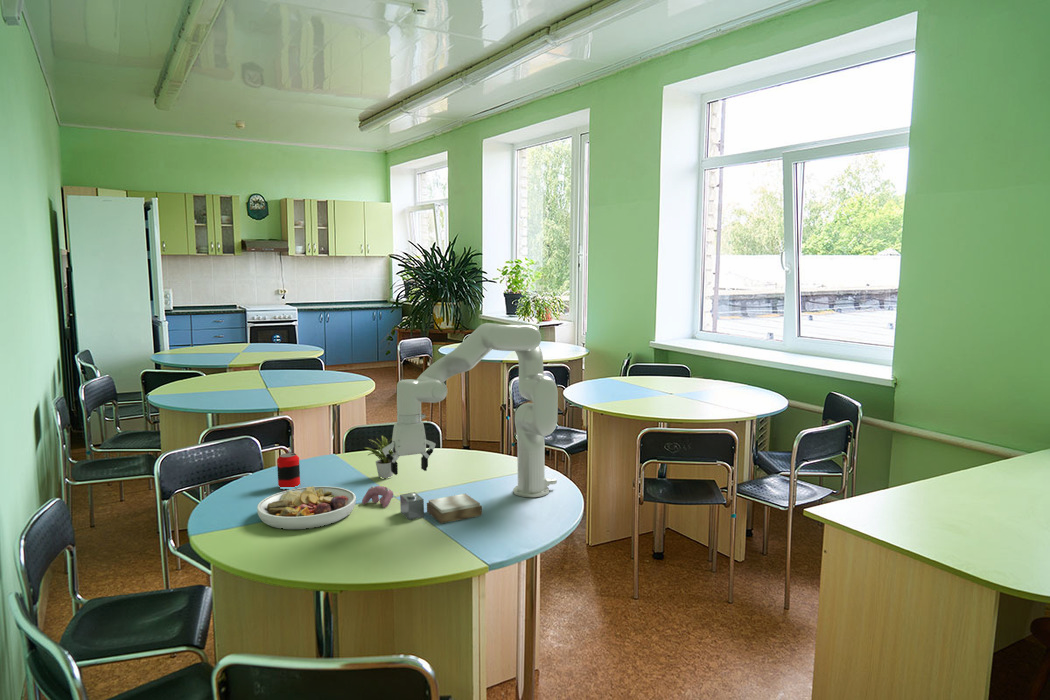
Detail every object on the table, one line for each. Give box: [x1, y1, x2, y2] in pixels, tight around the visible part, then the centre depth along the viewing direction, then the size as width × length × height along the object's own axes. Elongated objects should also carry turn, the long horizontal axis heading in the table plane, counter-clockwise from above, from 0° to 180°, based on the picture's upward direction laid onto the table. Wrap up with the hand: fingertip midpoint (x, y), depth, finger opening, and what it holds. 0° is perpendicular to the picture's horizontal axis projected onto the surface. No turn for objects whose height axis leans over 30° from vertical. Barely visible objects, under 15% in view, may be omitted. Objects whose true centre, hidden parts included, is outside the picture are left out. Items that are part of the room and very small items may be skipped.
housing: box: [399, 491, 425, 521], centre depth 213 cm, size 5×8×7 cm, turn 29°
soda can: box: [276, 452, 301, 487], centre depth 242 cm, size 8×8×12 cm
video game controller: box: [361, 485, 394, 509], centre depth 224 cm, size 10×5×7 cm, turn 66°
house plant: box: [364, 435, 394, 478], centre depth 254 cm, size 14×14×16 cm
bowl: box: [256, 485, 357, 530], centre depth 213 cm, size 30×30×8 cm
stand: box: [426, 493, 483, 524], centre depth 213 cm, size 14×12×4 cm
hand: (409, 471), depth 211 cm, fingers open, 9 cm apart
